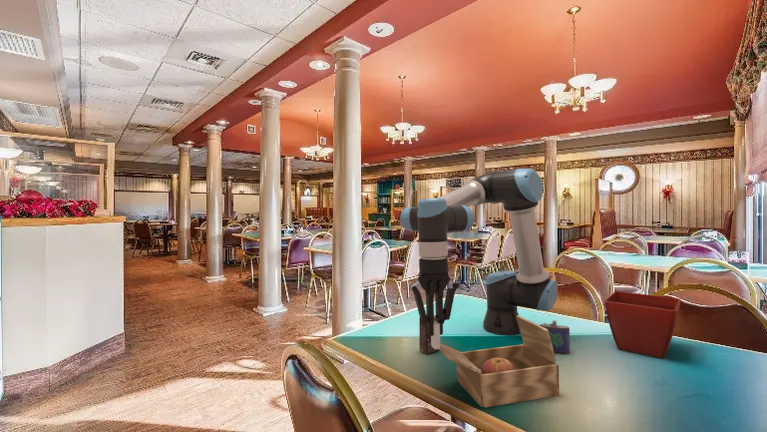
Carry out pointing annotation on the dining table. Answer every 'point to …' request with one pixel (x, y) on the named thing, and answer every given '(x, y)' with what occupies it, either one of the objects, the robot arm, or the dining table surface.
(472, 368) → the flap
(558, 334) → the flask
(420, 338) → the box
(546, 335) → the flap
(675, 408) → the dining table surface
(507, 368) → the apple
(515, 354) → the carton
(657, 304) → the plant pot
